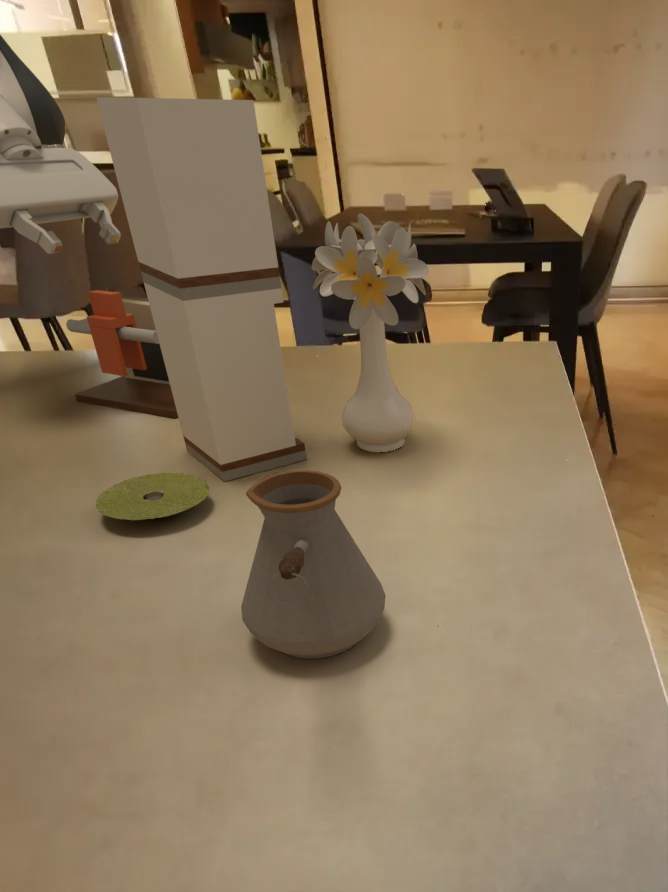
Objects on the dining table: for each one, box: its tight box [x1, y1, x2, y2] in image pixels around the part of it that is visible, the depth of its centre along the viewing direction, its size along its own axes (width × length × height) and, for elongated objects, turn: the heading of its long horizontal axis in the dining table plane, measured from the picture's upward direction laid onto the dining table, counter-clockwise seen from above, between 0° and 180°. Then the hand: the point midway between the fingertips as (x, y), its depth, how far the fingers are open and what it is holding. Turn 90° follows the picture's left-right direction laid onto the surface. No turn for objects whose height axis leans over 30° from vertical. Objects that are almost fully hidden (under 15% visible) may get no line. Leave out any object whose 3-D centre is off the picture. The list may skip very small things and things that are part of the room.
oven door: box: [65, 298, 179, 419], centre depth 100 cm, size 11×18×12 cm, turn 68°
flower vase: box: [311, 213, 430, 454], centre depth 82 cm, size 13×18×25 cm
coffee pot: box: [240, 469, 387, 660], centre depth 50 cm, size 21×12×15 cm, turn 11°
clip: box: [86, 289, 147, 377], centre depth 95 cm, size 4×4×10 cm
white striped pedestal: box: [95, 96, 308, 482], centre depth 76 cm, size 11×11×35 cm
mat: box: [95, 472, 210, 521], centre depth 74 cm, size 11×11×2 cm
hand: (87, 244), depth 88 cm, fingers open, 8 cm apart
